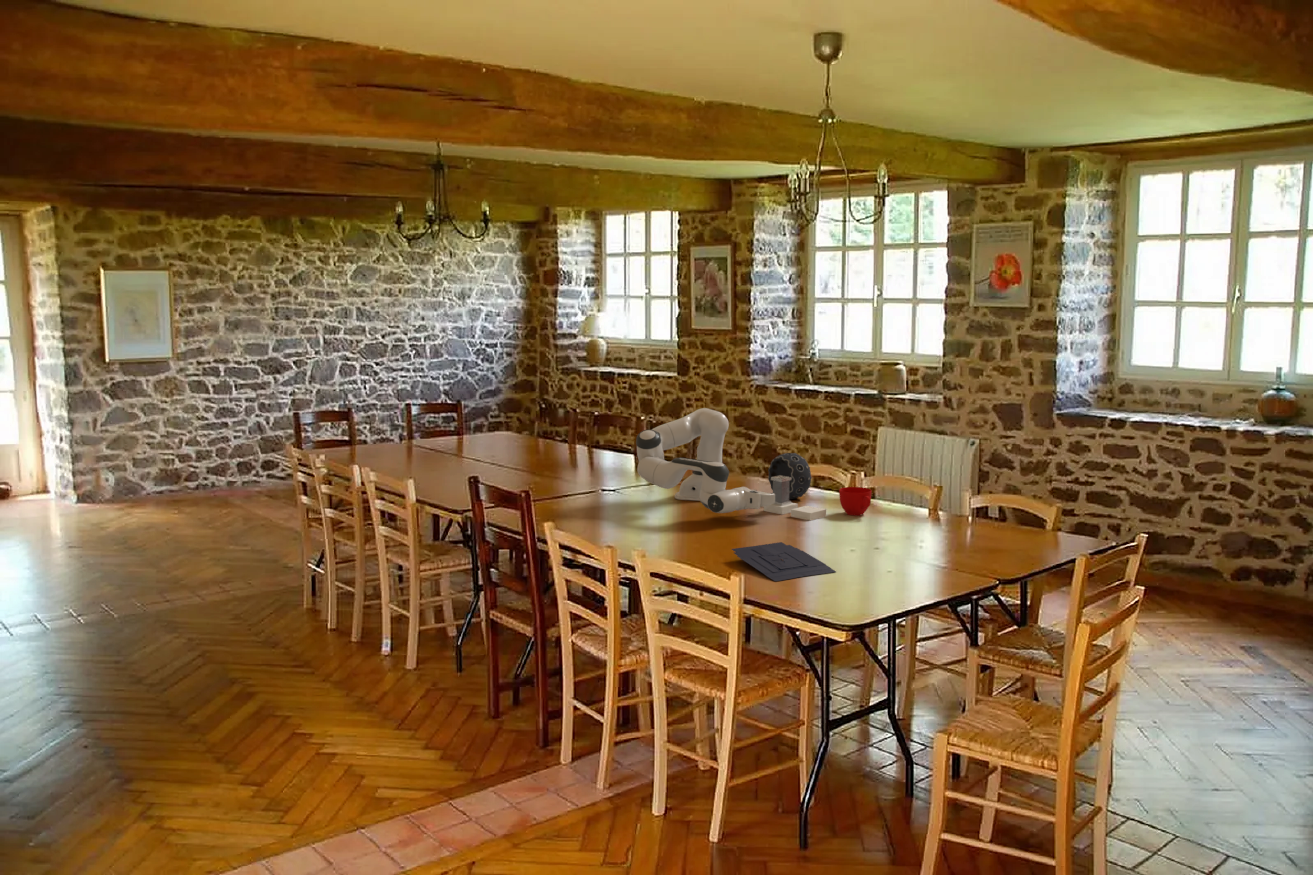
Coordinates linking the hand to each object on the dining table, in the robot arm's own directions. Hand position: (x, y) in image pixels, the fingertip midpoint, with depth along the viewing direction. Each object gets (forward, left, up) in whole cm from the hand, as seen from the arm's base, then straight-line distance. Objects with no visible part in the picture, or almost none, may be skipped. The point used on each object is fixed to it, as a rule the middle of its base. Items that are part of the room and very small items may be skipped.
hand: (764, 493), depth 427 cm
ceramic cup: (+38, +3, -9) cm, 39 cm away
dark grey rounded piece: (+11, +34, -9) cm, 37 cm away
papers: (+6, -79, -9) cm, 80 cm away
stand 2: (+18, -2, -9) cm, 20 cm away
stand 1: (+7, +8, -9) cm, 14 cm away
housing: (+7, +8, -6) cm, 12 cm away
